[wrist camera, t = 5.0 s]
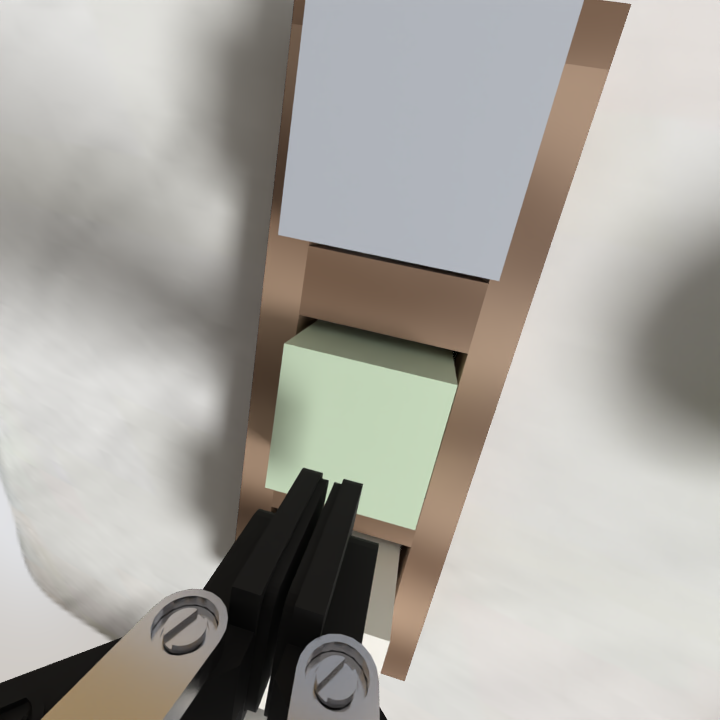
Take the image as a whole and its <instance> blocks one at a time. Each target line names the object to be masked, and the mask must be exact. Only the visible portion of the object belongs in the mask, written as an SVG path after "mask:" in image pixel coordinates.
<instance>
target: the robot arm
mask: <svg viewBox="0 0 720 720" xmlns="http://www.w3.org/2000/svg"><path fill="white" fill-rule="evenodd" d="M322 478H323V473H322V472H318V471H314V470H311V469H307V468H302V470H301V471H300V473H299V475H298V476H297V478H296V480H295V481H294V483H293V485H292V486H291V488H290V490H289V491H288V493H287V495H286V496H285V498H284V500H283V501H282V503H281V505H280V506H279V508H278V510H277V511H276V513H273V512H270V511H266V510H263V509H258V510H257V511H256V512H255V513H254V515H253V516H252V518H251V519H250V521H249V522H248V524H247V525H246V527H245V528H244V530H243V531H242V532H241V534H240V535H239V537H238V538H237V540H236V541H235V543H234V544H233V546H232V547H231V549H230V550H229V552H228V553H227V555H226V556H225V558H224V559H223V560H222V562H221V563H220V565H219V566H218V568H217V569H216V571H215V572H214V574H213V575H212V577H211V578H210V580H209V581H208V583H207V584H206V585H205V587H204V588H203V590H202V589H188V590H183V591H179V592H176V593H174V594H172V595H169V596H167V597H165V598H164V599H163V600H161V601H160V602H159V603H157V604H156V605H155V606H154V607H153V608H152V609H151V610H150V611H149V612H148V613H147V614H146V615H145V616H144V617H143V618H142V619H141V620H140V621H139V622H138V623H137V624H136V625H135V626H134V627H133V628H132V629H131V630H130V631H129V632H128V633H127V634H126V635H125V636H124V637H122V638H119V639H117V640H114V641H111V642H109V643H106V644H103V645H101V646H98V647H96V648H93V649H90V650H87V651H85V652H82V653H79V654H77V655H74V656H71V657H69V658H66V659H63V660H61V661H58V662H55V663H53V664H50V665H47V666H45V667H42V668H40V669H37V670H34V671H32V672H29V673H26V674H23V675H21V676H18V677H15V678H13V679H10V680H7V681H5V682H2V683H0V720H387V718H386V717H385V715H384V713H383V712H382V710H381V708H380V707H379V679H378V673H377V667H376V665H375V663H374V660H373V658H372V656H371V654H370V653H369V652H368V651H367V650H366V648H365V647H364V646H363V645H362V640H363V635H364V629H365V623H366V617H367V612H368V606H369V600H370V594H371V589H372V583H373V577H374V571H375V566H376V560H377V554H378V548H379V543H376V542H372V541H369V540H365V539H362V538H359V537H355V536H352V531H353V527H354V522H355V518H356V514H357V509H358V505H359V501H360V496H361V492H362V488H363V484H362V483H358V482H354V481H351V480H347V479H343V481H342V484H340V483H337V482H334V484H333V487H332V489H331V491H330V494H329V496H328V498H327V501H326V503H325V499H326V494H327V489H328V484H329V480H326V479H322ZM324 504H325V506H324ZM270 676H271V677H270ZM269 679H270V682H269ZM268 682H269V688H268V693H267V699H266V704H265V710H263V709H260V708H259V705H260V703H261V700H262V697H263V695H264V692H265V689H266V687H267V684H268Z"/></svg>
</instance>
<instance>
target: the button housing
mask: <svg viewBox="0 0 720 720" xmlns="http://www.w3.org/2000/svg"><path fill="white" fill-rule="evenodd" d="M630 6H631V4H627V3H619V2H611V1H603V0H584V2H583V5H582V9H581V12H580V15H579V18H578V22H577V25H576V28H575V32H574V35H573V38H572V42H571V45H570V48H569V51H568V55H567V58H566V61H565V65H564V68H563V71H562V75H561V78H560V81H559V85H558V88H557V91H556V94H555V98H554V101H553V104H552V108H551V111H550V114H549V118H548V121H547V124H546V128H545V131H544V134H543V137H542V141H541V144H540V147H539V151H538V154H537V157H536V161H535V164H534V167H533V170H532V174H531V177H530V180H529V184H528V187H527V190H526V194H525V197H524V200H523V204H522V207H521V210H520V213H519V217H518V220H517V223H516V227H515V230H514V233H513V237H512V240H511V243H510V247H509V250H508V253H507V256H506V260H505V263H504V266H503V270H502V273H501V276H500V280H499V281H496V280H491V279H487V278H482V277H477V276H472V275H467V274H463V273H458V272H453V271H448V270H444V269H439V268H434V267H429V266H424V265H420V264H415V263H410V262H405V261H401V260H396V259H391V258H386V257H381V256H377V255H372V254H367V253H362V252H358V251H353V250H348V249H343V248H338V247H334V246H329V245H324V244H319V243H315V242H310V241H305V240H300V239H295V238H291V237H286V236H281V235H278V231H279V223H280V214H281V206H282V197H283V188H284V180H285V171H286V163H287V154H288V146H289V137H290V129H291V120H292V111H293V103H294V94H295V86H296V77H297V69H298V60H299V52H300V43H301V35H302V26H303V17H304V9H305V0H294V8H293V17H292V26H291V35H290V44H289V53H288V62H287V72H286V81H285V90H284V99H283V108H282V117H281V126H280V136H279V145H278V154H277V163H276V172H275V181H274V190H273V199H272V209H271V218H270V227H269V236H268V245H267V254H266V263H265V273H264V282H263V291H262V300H261V309H260V318H259V327H258V336H257V346H256V355H255V364H254V373H253V382H252V391H251V400H250V410H249V419H248V428H247V437H246V446H245V455H244V464H243V473H242V483H241V492H240V501H239V510H238V519H237V528H236V537H235V541H236V540H237V538H238V537H239V535H240V534H241V532H242V531H243V530H244V528H245V527H246V525H247V524H248V522H249V521H250V519H251V518H252V516H253V515H254V513H255V512H256V511H257V510H258V509H263V510H266V511H270V512H273V513H276V511H277V510H278V508H279V506H280V505H281V503H282V501H283V500H284V498H285V496H286V495H287V494H286V493H283V492H279V491H276V490H272V489H269V488H265V484H266V476H267V469H268V461H269V454H270V446H271V439H272V431H273V424H274V416H275V409H276V401H277V394H278V386H279V379H280V371H281V364H282V356H283V349H284V343H285V342H287V341H288V340H290V339H291V338H293V337H294V336H296V335H297V334H299V333H300V332H301V331H303V330H304V329H306V328H307V327H309V326H310V325H312V324H313V323H314V322H316V321H317V320H318V319H320V320H324V321H329V322H333V323H337V324H342V325H346V326H350V327H354V328H359V329H363V330H367V331H372V332H376V333H380V334H385V335H389V336H393V337H398V338H402V339H406V340H411V341H415V342H419V343H424V344H428V345H432V346H436V347H441V348H445V349H449V350H454V351H457V355H456V358H455V362H454V366H455V372H456V378H457V384H458V386H457V389H456V393H455V396H454V399H453V403H452V406H451V410H450V413H449V417H448V420H447V423H446V427H445V430H444V434H443V437H442V440H441V444H440V447H439V451H438V454H437V457H436V461H435V464H434V468H433V471H432V474H431V478H430V481H429V485H428V488H427V491H426V495H425V498H424V502H423V505H422V508H421V512H420V515H419V519H418V522H417V525H416V529H415V530H412V529H409V528H405V527H402V526H398V525H395V524H391V523H388V522H384V521H381V520H377V519H374V518H370V517H367V516H363V515H360V514H356V518H355V522H354V527H353V531H357V532H360V533H364V534H367V535H371V536H374V537H378V538H381V539H384V540H388V541H391V542H395V543H398V544H402V548H401V551H400V555H399V563H398V573H397V582H396V591H395V600H394V609H393V618H392V628H391V637H390V643H389V646H388V650H387V653H386V656H385V660H384V663H383V666H382V670H381V674H384V675H387V676H390V677H393V678H396V679H399V680H402V681H405V678H406V675H407V672H408V669H409V666H410V663H411V660H412V657H413V654H414V651H415V648H416V645H417V642H418V639H419V636H420V634H421V631H422V628H423V625H424V622H425V619H426V616H427V613H428V610H429V607H430V604H431V601H432V598H433V595H434V592H435V589H436V586H437V583H438V580H439V577H440V574H441V571H442V568H443V565H444V562H445V559H446V556H447V553H448V550H449V547H450V544H451V541H452V538H453V535H454V532H455V529H456V526H457V523H458V520H459V517H460V514H461V511H462V508H463V505H464V502H465V499H466V496H467V493H468V490H469V487H470V484H471V481H472V478H473V475H474V472H475V469H476V466H477V463H478V460H479V457H480V454H481V451H482V448H483V445H484V442H485V439H486V436H487V433H488V430H489V427H490V425H491V422H492V419H493V416H494V413H495V410H496V407H497V404H498V401H499V398H500V395H501V392H502V389H503V386H504V383H505V380H506V377H507V374H508V371H509V368H510V365H511V362H512V359H513V356H514V353H515V350H516V347H517V344H518V341H519V338H520V335H521V332H522V329H523V326H524V323H525V320H526V317H527V314H528V311H529V308H530V305H531V302H532V299H533V296H534V293H535V290H536V287H537V284H538V281H539V278H540V275H541V272H542V269H543V266H544V263H545V260H546V257H547V254H548V251H549V248H550V245H551V242H552V239H553V236H554V233H555V230H556V227H557V224H558V221H559V218H560V215H561V213H562V210H563V207H564V204H565V201H566V198H567V195H568V192H569V189H570V186H571V183H572V180H573V177H574V174H575V171H576V168H577V165H578V162H579V159H580V156H581V153H582V150H583V147H584V144H585V141H586V138H587V135H588V132H589V129H590V126H591V123H592V120H593V117H594V114H595V111H596V108H597V105H598V102H599V99H600V96H601V93H602V90H603V87H604V84H605V81H606V78H607V75H608V72H609V69H610V66H611V63H612V60H613V57H614V54H615V51H616V48H617V45H618V42H619V39H620V36H621V33H622V30H623V27H624V24H625V21H626V18H627V15H628V12H629V9H630ZM324 506H325V504H324Z"/></svg>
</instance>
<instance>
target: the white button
mask: <svg viewBox="0 0 720 720" xmlns="http://www.w3.org/2000/svg"><path fill="white" fill-rule="evenodd" d="M352 536H355V537H359V538H362V539H365V540H369V541H372V542H376V543H379V548H378V554H377V560H376V566H375V571H374V577H373V583H372V589H371V594H370V600H369V606H368V612H367V617H366V623H365V629H364V635H363V640H362V645H363V646H364V647H365V648H366V650H367V651H368V652H369V653H370V654H371V656H372V658H373V660H374V663H375V665H376V667H377V673H378V679H379V676H380V673H381V670H382V666H383V663H384V660H385V656H386V653H387V650H388V646H389V643H390V637H391V628H392V618H393V609H394V600H395V591H396V582H397V573H398V563H399V554H400V545H401V544H398V543H395V542H391V541H388V540H384V539H381V538H378V537H374V536H371V535H367V534H364V533H360V532H357V531H352ZM270 677H271V676H270ZM269 682H270V679H269ZM269 682H268V684H267V687H266V689H265V692H264V695H263V697H262V700H261V703H260V705H259V708H260V709H263V710H265V704H266V699H267V693H268V688H269Z"/></svg>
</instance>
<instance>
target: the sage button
mask: <svg viewBox="0 0 720 720" xmlns="http://www.w3.org/2000/svg"><path fill="white" fill-rule="evenodd" d="M457 386H458V384H457V378H456V372H455V366H454V360H453V354H452V350H449V349H445V348H441V347H436V346H432V345H428V344H424V343H419V342H415V341H411V340H406V339H402V338H398V337H393V336H389V335H385V334H380V333H376V332H372V331H367V330H363V329H359V328H354V327H350V326H346V325H342V324H337V323H333V322H329V321H324V320H320V319H319V320H317V321H316V322H314V323H313V324H312V325H310V326H309V327H307V328H306V329H304V330H303V331H301V332H300V333H299V334H297V335H296V336H294V337H293V338H291V339H290V340H288V341H287V342H285V343H284V349H283V356H282V364H281V371H280V379H279V386H278V394H277V401H276V409H275V416H274V424H273V431H272V439H271V446H270V454H269V461H268V469H267V476H266V484H265V488H269V489H272V490H276V491H279V492H283V493H286V494H287V493H288V491H289V490H290V488H291V486H292V485H293V483H294V481H295V480H296V478H297V476H298V475H299V473H300V471H301V470H302V468H307V469H311V470H314V471H318V472H322V473H323V478H322V479H326V480H329V484H328V489H327V494H326V499H325V503H326V501H327V498H328V496H329V494H330V491H331V489H332V487H333V484H334V482H337V483H340V484H342V481H343V479H347V480H351V481H354V482H358V483H362V484H363V488H362V492H361V496H360V501H359V505H358V509H357V514H360V515H363V516H367V517H370V518H374V519H377V520H381V521H384V522H388V523H391V524H395V525H398V526H402V527H405V528H409V529H412V530H415V529H416V525H417V522H418V519H419V515H420V512H421V508H422V505H423V502H424V498H425V495H426V491H427V488H428V485H429V481H430V478H431V474H432V471H433V468H434V464H435V461H436V457H437V454H438V451H439V447H440V444H441V440H442V437H443V434H444V430H445V427H446V423H447V420H448V417H449V413H450V410H451V406H452V403H453V399H454V396H455V393H456V389H457Z"/></svg>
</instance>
